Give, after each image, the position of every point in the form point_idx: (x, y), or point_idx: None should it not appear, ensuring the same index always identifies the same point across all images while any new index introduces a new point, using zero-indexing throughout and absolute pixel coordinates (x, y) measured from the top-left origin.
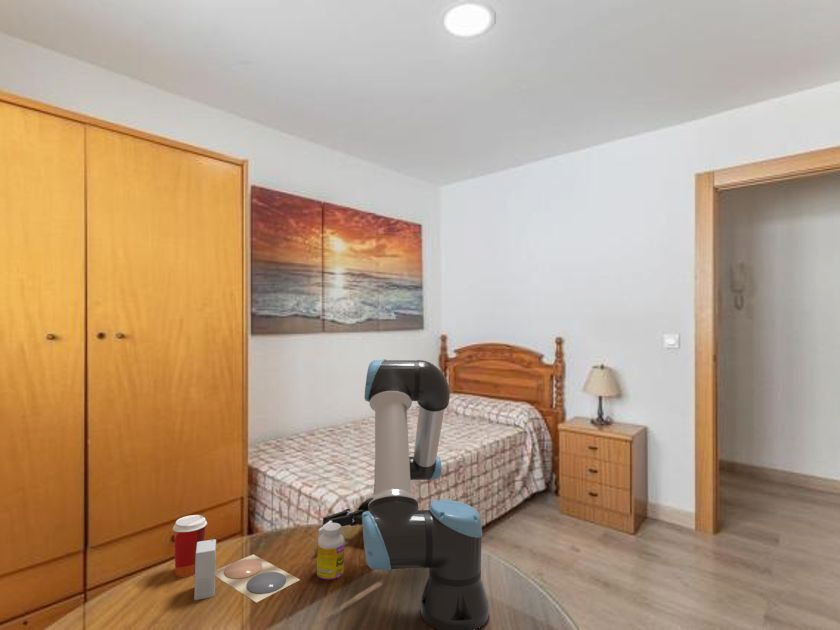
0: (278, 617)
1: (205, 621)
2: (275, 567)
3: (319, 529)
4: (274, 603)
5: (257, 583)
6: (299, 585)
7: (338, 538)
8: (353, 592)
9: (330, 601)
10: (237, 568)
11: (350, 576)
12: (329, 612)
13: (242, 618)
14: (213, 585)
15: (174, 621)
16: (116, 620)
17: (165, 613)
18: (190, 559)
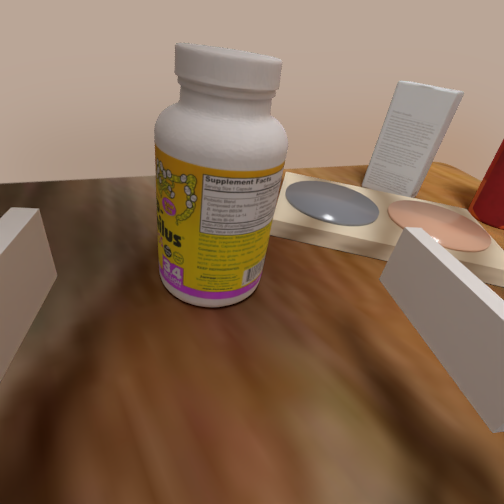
0: None
1: (322, 168)
2: (388, 242)
3: (422, 232)
4: None
5: (341, 194)
6: (273, 236)
7: (177, 103)
8: (91, 242)
9: (149, 211)
10: (444, 219)
11: (135, 303)
12: (134, 191)
13: (282, 173)
14: (372, 155)
15: (356, 166)
16: None
17: None
18: (490, 165)
